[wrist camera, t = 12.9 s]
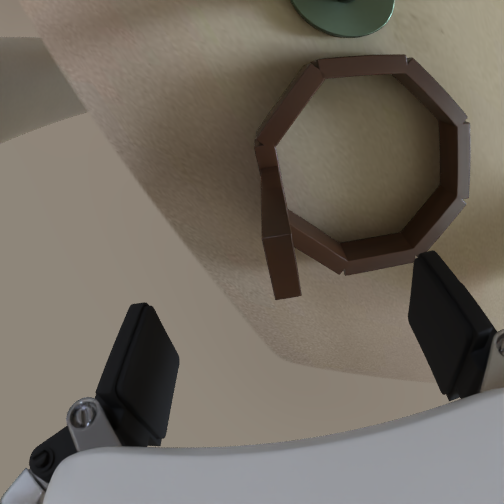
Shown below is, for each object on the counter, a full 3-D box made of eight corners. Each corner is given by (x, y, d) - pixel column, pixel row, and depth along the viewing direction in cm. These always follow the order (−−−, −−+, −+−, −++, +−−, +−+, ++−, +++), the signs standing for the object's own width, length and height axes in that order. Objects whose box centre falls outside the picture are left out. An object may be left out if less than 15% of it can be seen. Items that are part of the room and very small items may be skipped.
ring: (281, 266, 29) (292, 386, 18) (239, 73, 21) (217, 65, 9) (448, 236, 27) (522, 324, 16) (444, 57, 19) (561, 67, 7)
